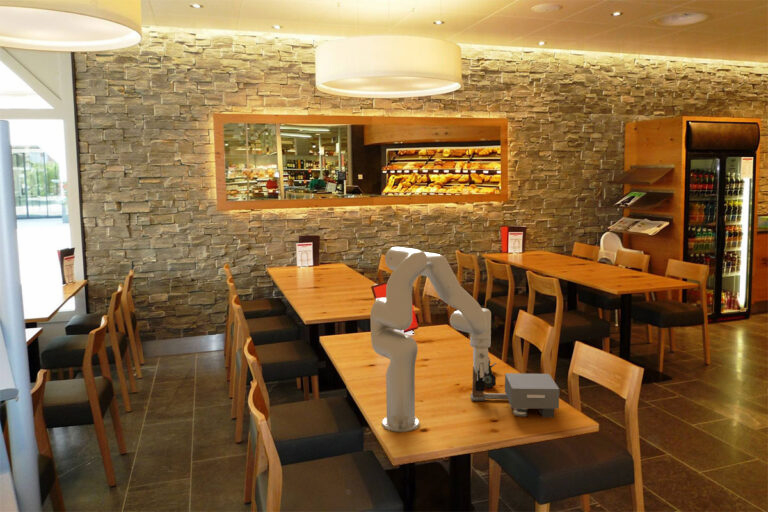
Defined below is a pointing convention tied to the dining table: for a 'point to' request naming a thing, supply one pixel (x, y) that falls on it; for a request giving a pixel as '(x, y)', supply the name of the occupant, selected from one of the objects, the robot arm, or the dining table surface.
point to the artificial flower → (489, 377)
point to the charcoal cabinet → (532, 392)
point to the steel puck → (520, 412)
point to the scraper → (480, 394)
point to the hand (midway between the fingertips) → (479, 389)
